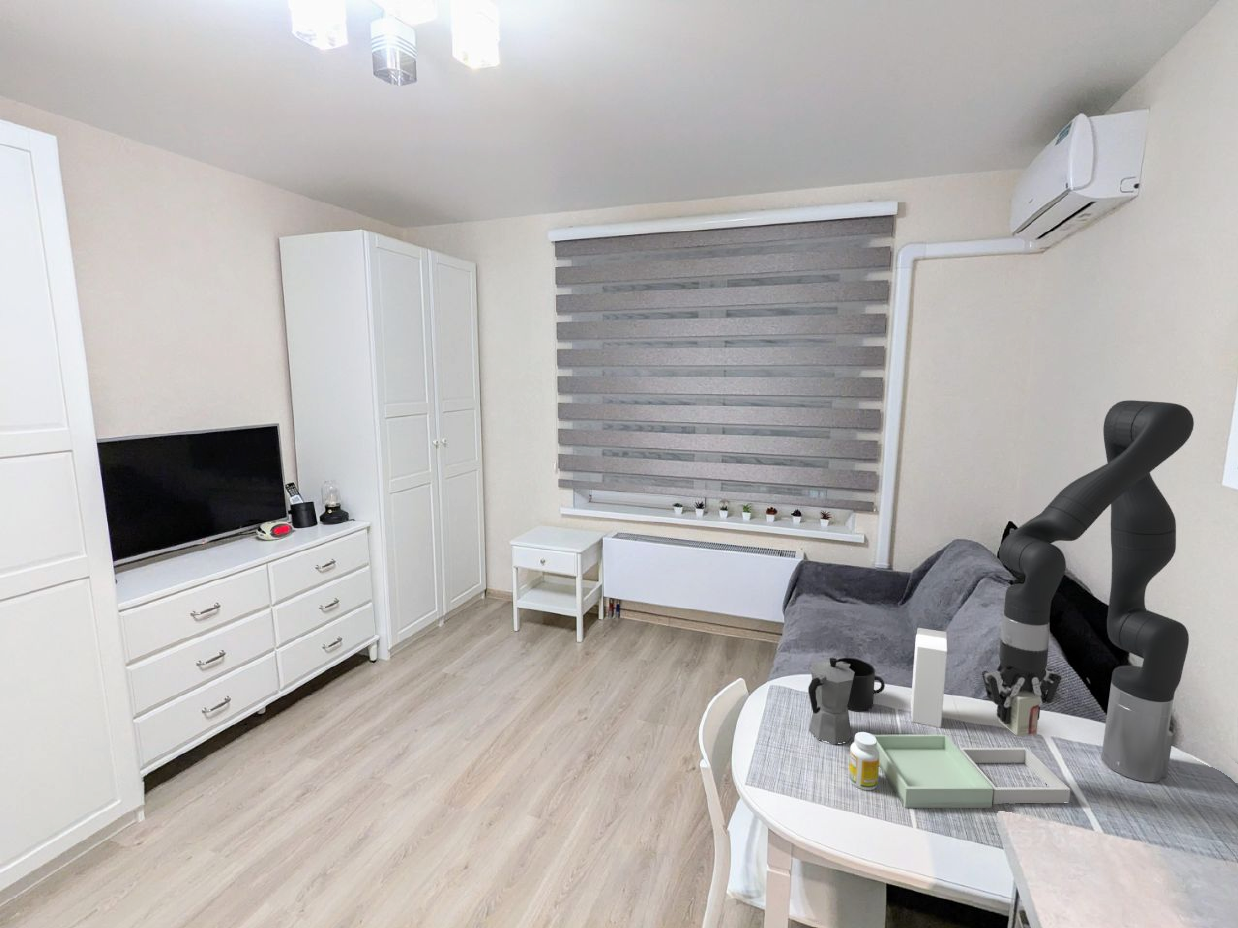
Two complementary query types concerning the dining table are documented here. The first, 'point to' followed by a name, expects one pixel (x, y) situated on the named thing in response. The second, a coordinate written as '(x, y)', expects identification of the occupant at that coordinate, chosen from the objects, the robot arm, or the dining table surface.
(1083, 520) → the robot arm
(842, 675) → the coffeepot
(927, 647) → the milk
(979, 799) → the bin
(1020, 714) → the small box
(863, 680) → the mug
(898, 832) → the dining table surface
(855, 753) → the supplement bottle
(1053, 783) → the frame
